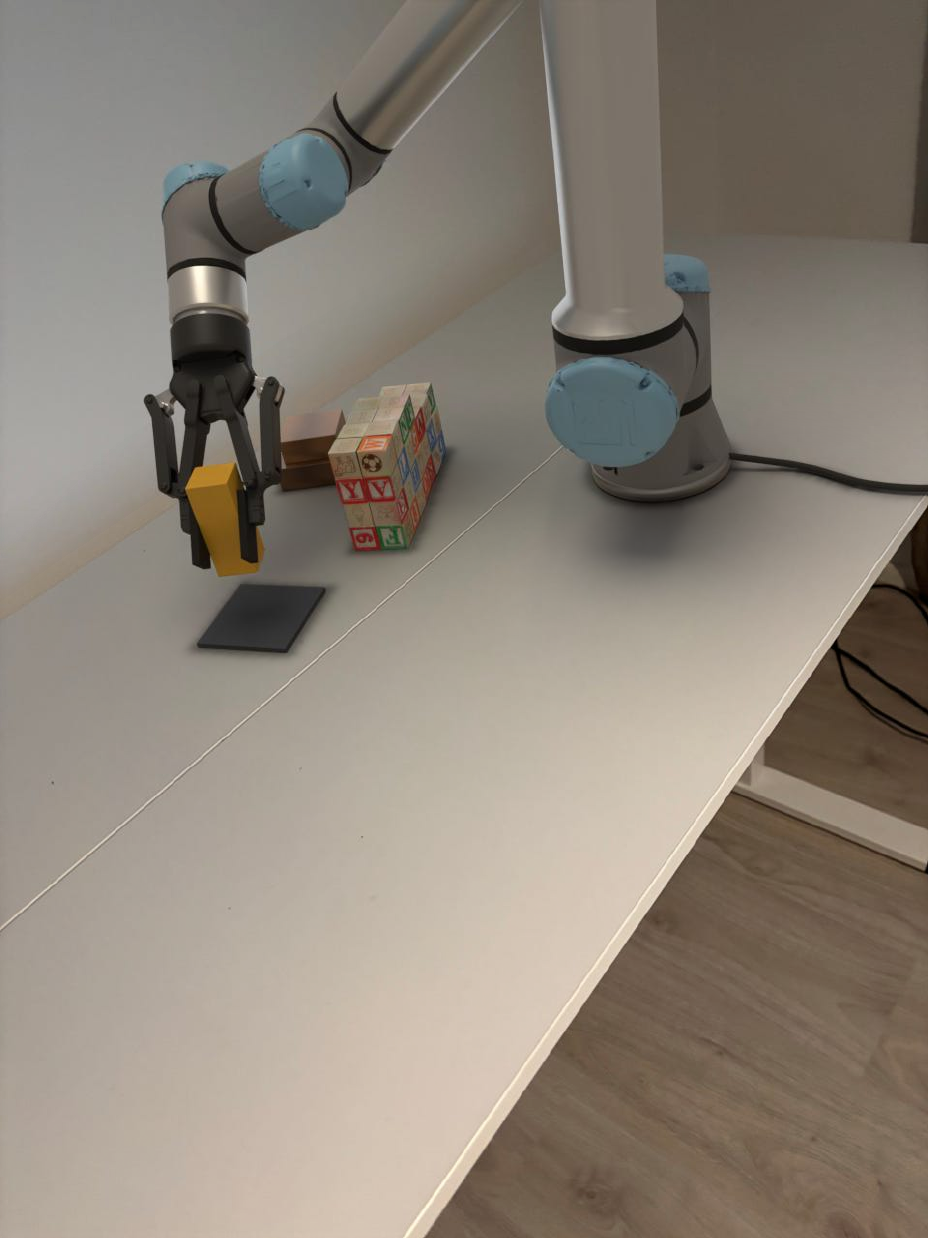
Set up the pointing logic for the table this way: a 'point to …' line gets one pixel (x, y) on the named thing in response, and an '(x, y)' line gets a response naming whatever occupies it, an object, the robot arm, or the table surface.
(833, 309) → the table surface
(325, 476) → the dark wooden step block
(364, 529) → the stack of blocks
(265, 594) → the mat
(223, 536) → the bar
